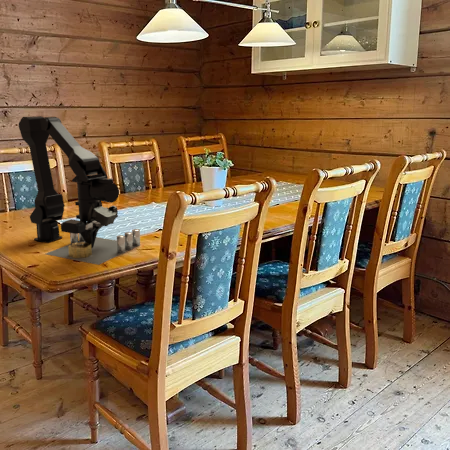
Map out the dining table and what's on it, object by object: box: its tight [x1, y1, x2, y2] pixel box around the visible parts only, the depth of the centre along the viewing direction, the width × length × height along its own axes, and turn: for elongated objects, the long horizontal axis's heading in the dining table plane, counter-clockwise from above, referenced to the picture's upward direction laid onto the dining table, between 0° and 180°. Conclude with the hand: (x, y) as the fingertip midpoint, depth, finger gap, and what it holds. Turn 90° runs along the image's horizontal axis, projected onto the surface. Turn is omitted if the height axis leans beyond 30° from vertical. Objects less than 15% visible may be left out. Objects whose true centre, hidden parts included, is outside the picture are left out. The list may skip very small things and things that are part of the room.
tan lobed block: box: [67, 242, 92, 258], centre depth 146 cm, size 6×6×3 cm
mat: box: [45, 236, 138, 266], centre depth 152 cm, size 20×21×1 cm
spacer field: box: [69, 228, 141, 254], centre depth 156 cm, size 20×10×5 cm, turn 66°
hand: (91, 247), depth 150 cm, fingers closed
